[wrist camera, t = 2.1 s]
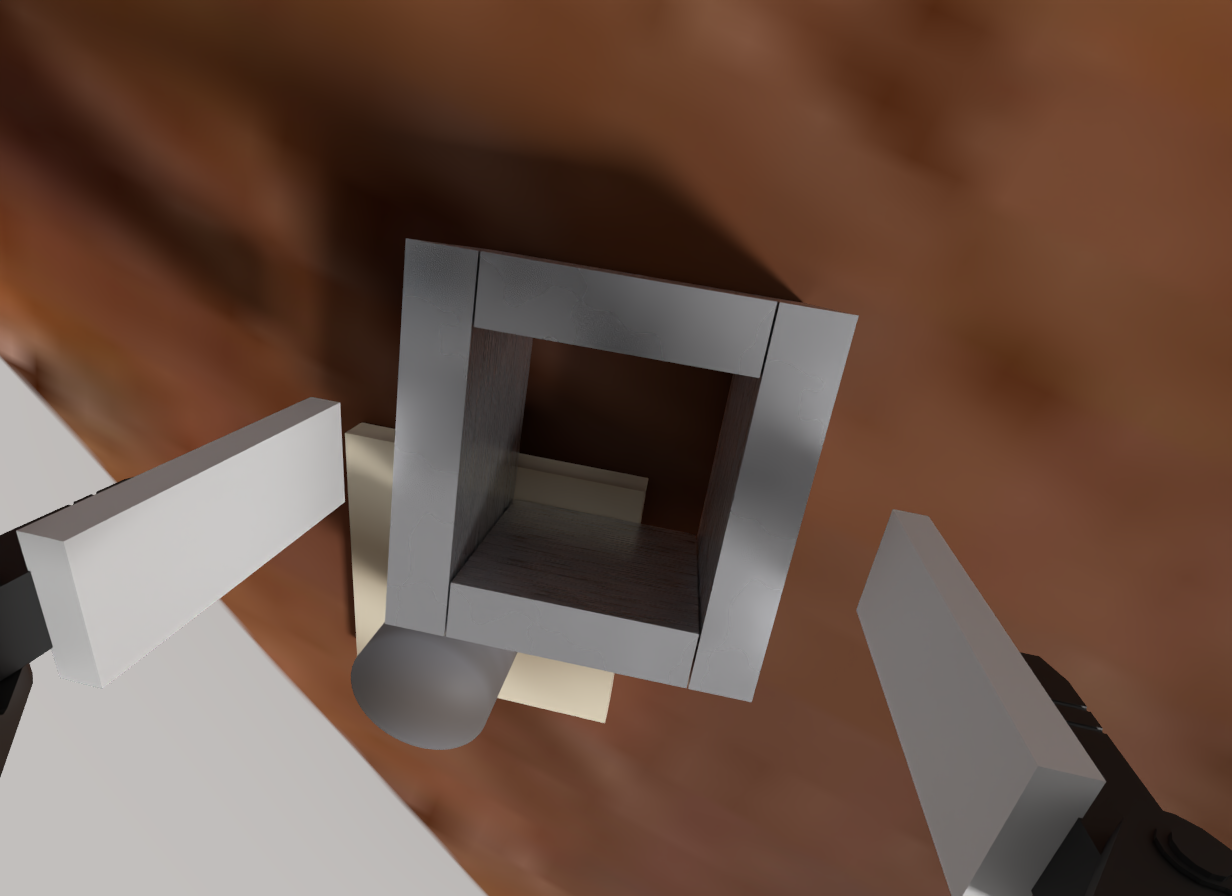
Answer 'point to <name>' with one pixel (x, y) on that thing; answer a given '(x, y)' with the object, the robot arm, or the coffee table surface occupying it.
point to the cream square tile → (438, 665)
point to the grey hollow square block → (581, 542)
